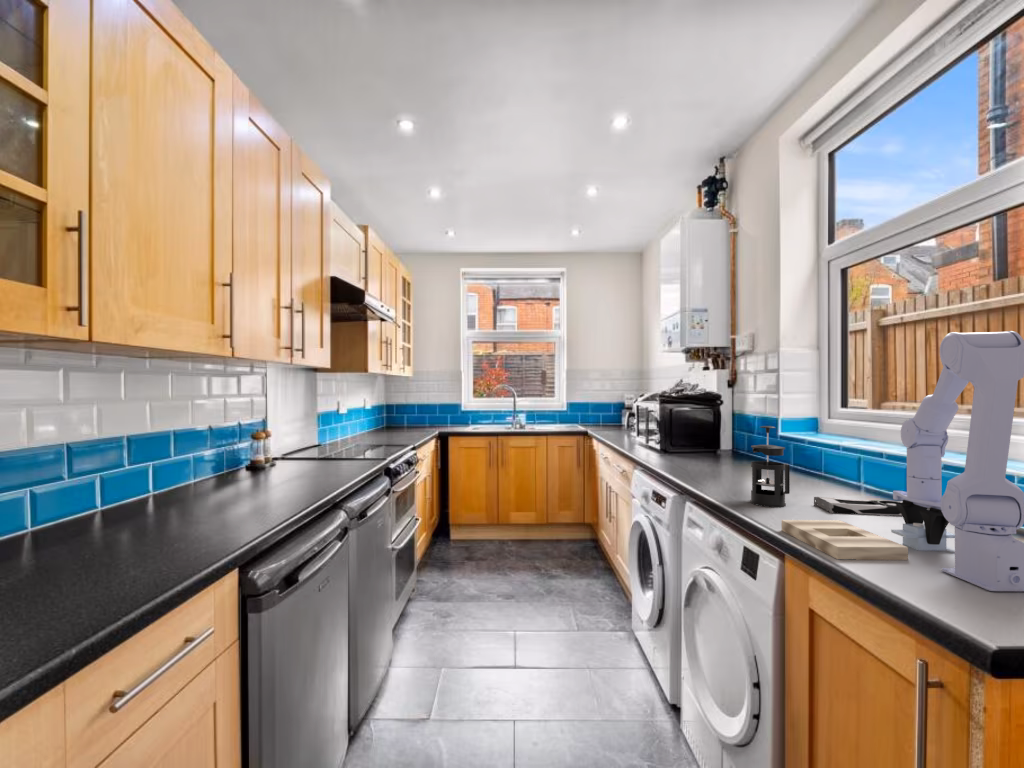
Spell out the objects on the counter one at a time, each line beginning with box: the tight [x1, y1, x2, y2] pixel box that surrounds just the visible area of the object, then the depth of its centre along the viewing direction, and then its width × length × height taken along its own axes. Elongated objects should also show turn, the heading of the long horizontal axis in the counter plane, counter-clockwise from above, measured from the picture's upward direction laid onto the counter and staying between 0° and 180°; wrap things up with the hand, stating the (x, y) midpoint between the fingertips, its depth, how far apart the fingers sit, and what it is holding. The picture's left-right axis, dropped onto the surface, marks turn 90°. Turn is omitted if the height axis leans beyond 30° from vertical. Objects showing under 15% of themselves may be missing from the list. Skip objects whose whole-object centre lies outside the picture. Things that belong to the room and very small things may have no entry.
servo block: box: [890, 523, 955, 551], centre depth 104 cm, size 4×11×5 cm, turn 90°
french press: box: [749, 425, 791, 508], centre depth 144 cm, size 12×9×23 cm
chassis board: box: [781, 519, 909, 561], centre depth 106 cm, size 20×14×2 cm
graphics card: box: [813, 496, 903, 517], centre depth 135 cm, size 10×3×25 cm
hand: (924, 540), depth 104 cm, fingers closed on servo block, 4 cm apart
